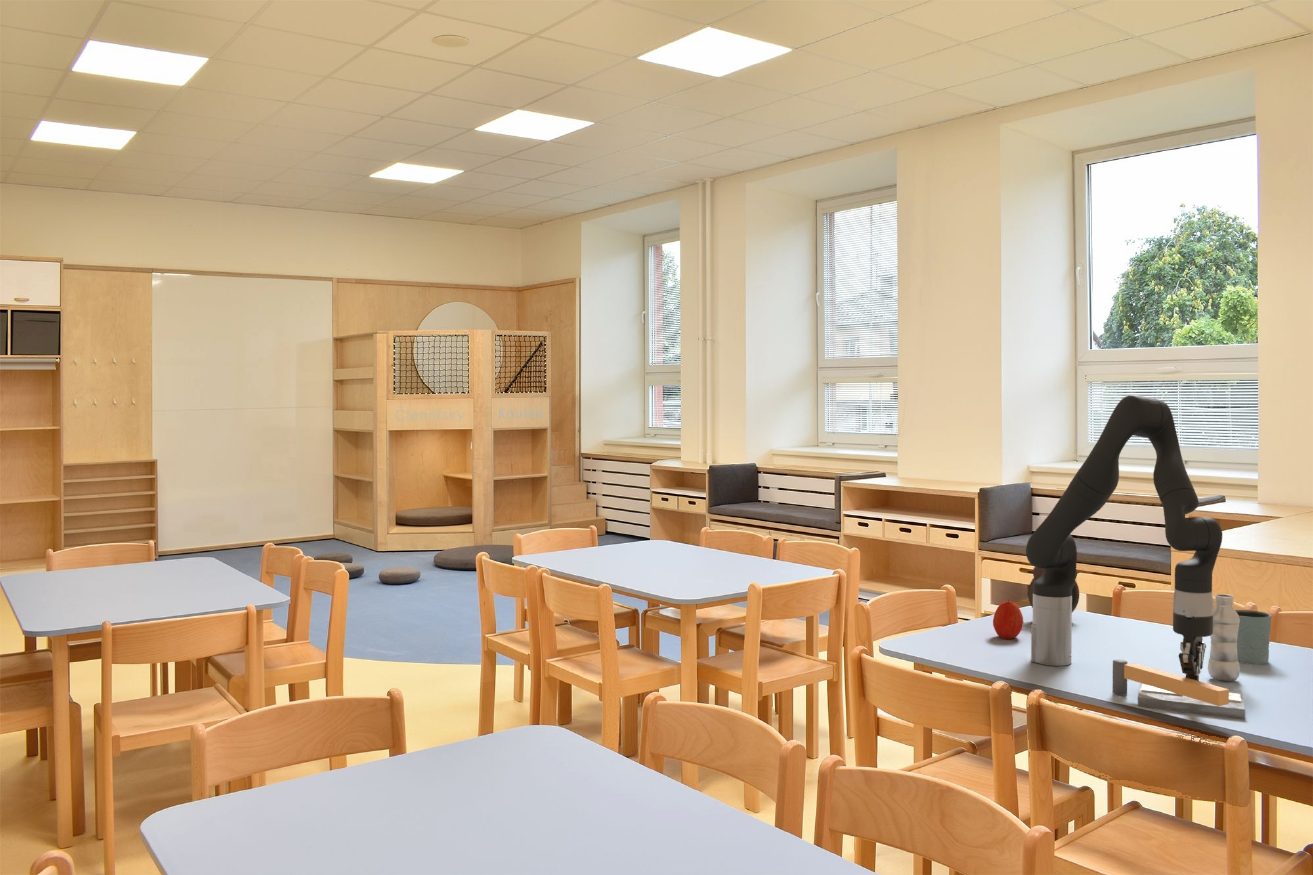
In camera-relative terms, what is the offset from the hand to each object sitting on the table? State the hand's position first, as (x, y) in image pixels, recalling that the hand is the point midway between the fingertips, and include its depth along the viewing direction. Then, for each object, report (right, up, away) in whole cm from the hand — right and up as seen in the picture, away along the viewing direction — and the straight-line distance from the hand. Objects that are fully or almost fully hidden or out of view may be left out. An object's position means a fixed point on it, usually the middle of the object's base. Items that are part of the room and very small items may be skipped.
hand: (1192, 691), depth 216 cm
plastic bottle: (+20, -3, +24) cm, 31 cm away
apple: (-15, -2, +68) cm, 70 cm away
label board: (+3, -4, +6) cm, 7 cm away
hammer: (-5, -4, +1) cm, 6 cm away
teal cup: (+36, -3, +42) cm, 56 cm away
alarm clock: (+6, -1, +90) cm, 90 cm away
